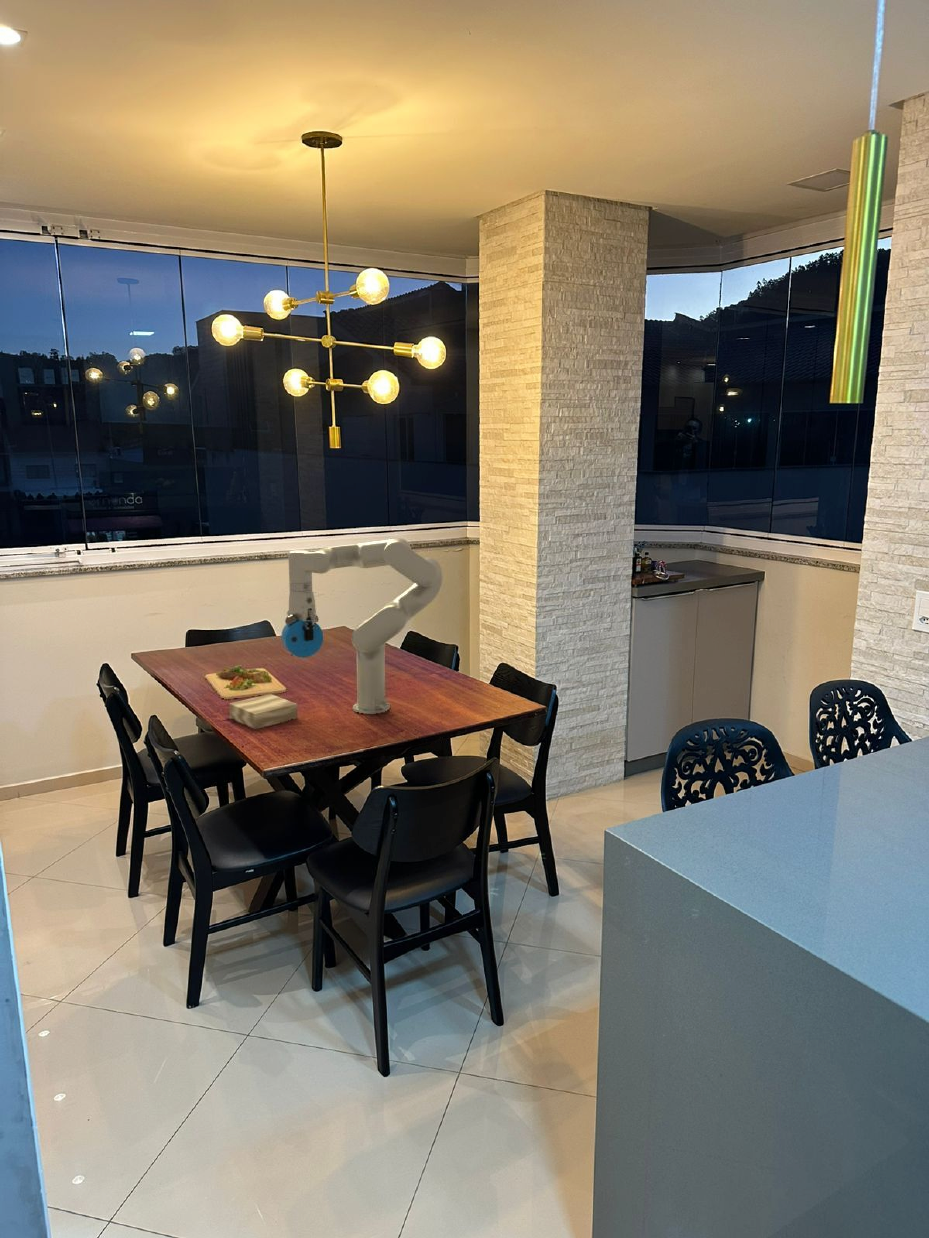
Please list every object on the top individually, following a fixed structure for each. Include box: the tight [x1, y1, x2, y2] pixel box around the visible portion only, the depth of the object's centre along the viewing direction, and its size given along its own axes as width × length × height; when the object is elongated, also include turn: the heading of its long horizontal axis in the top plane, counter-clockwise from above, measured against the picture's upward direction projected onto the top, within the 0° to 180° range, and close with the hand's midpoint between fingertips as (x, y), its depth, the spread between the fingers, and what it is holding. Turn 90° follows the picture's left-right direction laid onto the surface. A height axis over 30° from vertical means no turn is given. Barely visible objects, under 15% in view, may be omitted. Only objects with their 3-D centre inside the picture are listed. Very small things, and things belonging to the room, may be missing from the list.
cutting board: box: [205, 665, 287, 701], centre depth 323 cm, size 35×23×8 cm
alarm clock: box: [280, 614, 324, 659], centre depth 290 cm, size 13×6×15 cm, turn 118°
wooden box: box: [228, 694, 299, 730], centre depth 283 cm, size 16×16×5 cm
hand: (302, 638), depth 290 cm, fingers closed on alarm clock, 7 cm apart
